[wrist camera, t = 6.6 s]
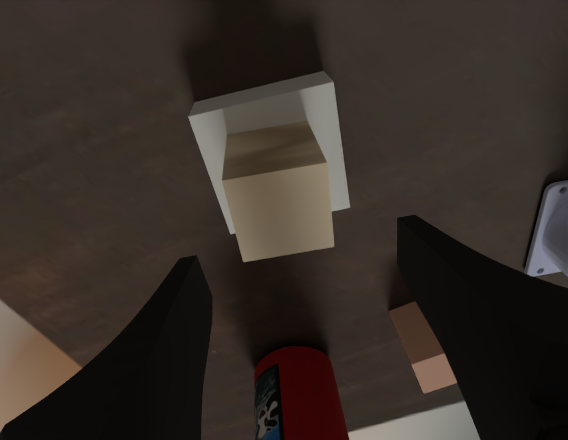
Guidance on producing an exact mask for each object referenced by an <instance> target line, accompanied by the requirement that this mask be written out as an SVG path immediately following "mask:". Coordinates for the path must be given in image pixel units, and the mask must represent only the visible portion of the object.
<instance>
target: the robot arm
mask: <svg viewBox="0 0 568 440" xmlns="http://www.w3.org/2000/svg"><path fill="white" fill-rule="evenodd" d="M561 188H562V189H561ZM560 189H561V190H560ZM397 263H398V266H399V268H400V271H401V274H402V276H403V278H404V281H405V283H406V285H407V288H408V289H409V291H410V293H411V295H412V296H413V298H414V300H415V302H416V303H417V305H418V307H419V309H420V310H421V312H422V314H423V315H424V317H425V319H426V321H427V322H428V324H429V326H430V328H431V329H432V331H433V333H434V334H435V336H436V338H437V340H438V342H439V344H440V345H441V347H442V349H443V351H444V354H445V356H446V358H447V360H448V363H449V365H450V367H451V369H452V372H453V374H454V376H455V378H456V381H457V383H458V385H459V388H460V390H461V392H462V395H463V397H464V400H465V402H466V404H467V407H468V409H469V411H470V414H471V417H472V419H473V422H474V424H475V427H476V429H477V432H478V434H479V437H480V439H481V440H568V288H565V287H562V286H558V285H555V284H552V283H550V282H547V281H544V280H541V279H538V278H535V277H533V276H539V275H544V274H550V273H555V272H561V271H562V272H563V273H564V274H565V275H566V276H567V277H568V180H566V181H560V182H555V183H552V184H550V185H548V186H547V187H546V189H545V191H544V195H543V199H542V203H541V207H540V211H539V215H538V218H537V222H536V226H535V230H534V234H533V238H532V242H531V246H530V250H529V254H528V258H527V262H526V266H525V270H524V272H525V273H522V272H520V271H517V270H515V269H513V268H510V267H508V266H506V265H503V264H501V263H499V262H497V261H495V260H492V259H490V258H488V257H486V256H484V255H482V254H481V253H479V252H477V251H475V250H473V249H471V248H469V247H467V246H465V245H464V244H462V243H460V242H458V241H457V240H455V239H453V238H452V237H450V236H448V235H447V234H445V233H443V232H442V231H440V230H439V229H437V228H435V227H434V226H432V225H431V224H429V223H427V222H426V221H424V220H423V219H421V218H419V217H418V216H416V215H411V216H405V217H400V218H397ZM211 326H212V294H211V292H210V289H209V286H208V284H207V281H206V279H205V276H204V273H203V271H202V268H201V265H200V263H199V260H198V257H197V255H195V256H190V257H184V258H180V259H179V260H178V261H177V263H176V264H175V266H174V267H173V268H172V270H171V271H170V272H169V274H168V275H167V277H166V278H165V279H164V281H163V282H162V283H161V285H160V286H159V287H158V289H157V290H156V291H155V293H154V294H153V295H152V297H151V298H150V299H149V301H148V302H147V303H146V304H145V305H144V307H143V308H142V309H141V310H140V311H139V313H138V314H137V315H136V316H135V317H134V319H133V320H132V321H131V322H130V323H129V324H128V325H127V327H126V328H125V329H124V330H123V331H122V332H121V333H120V334H119V335H118V336H117V337H116V338H115V339H114V340H113V341H112V342H111V343H110V344H109V345H108V346H107V347H106V348H105V349H104V350H103V351H101V352H100V353H99V354H98V355H97V356H96V357H95V358H94V359H92V360H91V361H90V362H89V363H88V364H87V365H86V366H85V367H83V368H82V369H81V370H80V371H79V372H78V373H76V374H75V375H74V376H73V377H71V378H70V379H69V380H68V381H66V382H65V383H64V384H63V385H61V386H60V387H59V388H57V389H56V390H55V391H53V392H52V393H51V394H49V395H48V396H47V397H45V398H44V399H42V400H41V401H40V402H38V403H37V404H35V405H34V406H32V407H31V408H29V409H28V410H26V411H25V412H23V413H22V414H20V415H19V416H17V417H16V418H15V419H13V420H12V421H10V422H9V423H7V424H6V425H5V426H4V427H3V429H2V431H1V432H0V440H201V415H202V392H203V382H204V375H205V368H206V361H207V354H208V348H209V341H210V334H211Z"/></svg>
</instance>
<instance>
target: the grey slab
mask: <svg viewBox="0 0 568 440" xmlns="http://www.w3.org/2000/svg"><path fill="white" fill-rule="evenodd" d="M188 118H189V120H190V123H191V126H192V129H193V131H194V134H195V137H196V140H197V143H198V145H199V148H200V151H201V154H202V156H203V159H204V162H205V165H206V167H207V170H208V173H209V176H210V179H211V181H212V184H213V187H214V190H215V192H216V195H217V198H218V201H219V203H220V206H221V209H222V212H223V215H224V217H225V220H226V223H227V226H228V228H229V231H230V234H234V233H235V229H234V225H233V221H232V217H231V214H230V210H229V206H228V202H227V199H226V195H225V191H224V187H223V184H222V174H223V165H224V156H225V147H226V138H227V135H229V134H234V133H240V132H246V131H252V130H258V129H264V128H269V127H275V126H281V125H287V124H293V123H298V122H304V121H308V123H309V125H310V127H311V129H312V131H313V133H314V136H315V138H316V140H317V142H318V144H319V146H320V148H321V150H322V152H323V155H324V157H325V159H326V161H327V165H328V177H329V189H330V201H331V212H332V211H337V210H341V209H346V208H350V204H349V196H348V189H347V181H346V174H345V166H344V158H343V151H342V143H341V135H340V128H339V120H338V113H337V105H336V97H335V90H334V82H333V81H332V80H331V79H330V77H329V76H328V75H327V74H326V73H325V72H324V71H321V72H317V73H313V74H309V75H305V76H300V77H296V78H292V79H288V80H284V81H280V82H276V83H272V84H267V85H263V86H259V87H255V88H251V89H247V90H243V91H239V92H234V93H230V94H226V95H222V96H218V97H214V98H210V99H206V100H201V101H197V102H195V103H194V105H193V107H192V110H191V112H190V114H189V116H188Z"/></svg>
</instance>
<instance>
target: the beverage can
mask: <svg viewBox="0 0 568 440" xmlns="http://www.w3.org/2000/svg"><path fill="white" fill-rule="evenodd" d="M254 391H255V440H349V437H348V432H347V428H346V424H345V419H344V415H343V410H342V406H341V402H340V397H339V393H338V389H337V384H336V380H335V376H334V372H333V368H332V364H331V361H330V360H329V358H328V357H327V356H326V355H325V354H324V353H322V352H321V351H319V350H317V349H314V348H310V347H304V346H289V347H284V348H281V349H278V350H276V351H273V352H271V353H270V354H268V355H266V356H265V357H264V358H263V359H262V360H261V361H260V362H259V363H258V365H257V366H256V369H255V374H254Z"/></svg>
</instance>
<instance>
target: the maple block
mask: <svg viewBox="0 0 568 440" xmlns="http://www.w3.org/2000/svg"><path fill="white" fill-rule="evenodd" d="M222 184H223V187H224V191H225V195H226V199H227V202H228V206H229V210H230V214H231V217H232V221H233V225H234V229H235V233H236V236H237V240H238V244H239V248H240V251H241V255H242V259H243V262H248V261H254V260H260V259H266V258H271V257H277V256H283V255H289V254H295V253H300V252H306V251H312V250H318V249H324V248H330V247H334V236H333V225H332V213H331V201H330V189H329V177H328V165H327V161H326V159H325V157H324V155H323V152H322V150H321V148H320V146H319V144H318V142H317V140H316V138H315V136H314V133H313V131H312V129H311V127H310V125H309V123H308V121H304V122H298V123H293V124H287V125H281V126H275V127H269V128H264V129H258V130H252V131H246V132H240V133H234V134H229V135H227V138H226V147H225V156H224V165H223V174H222Z"/></svg>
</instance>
